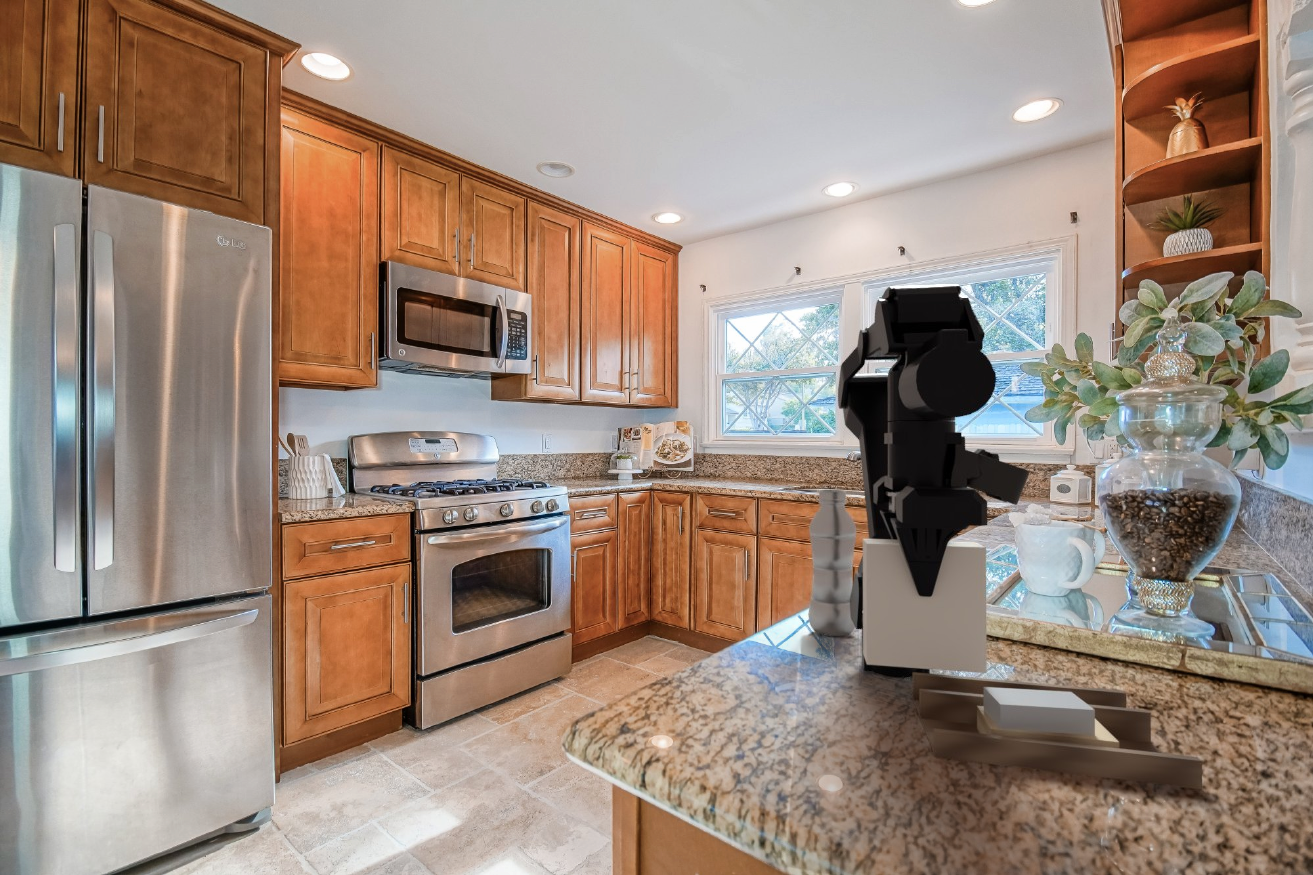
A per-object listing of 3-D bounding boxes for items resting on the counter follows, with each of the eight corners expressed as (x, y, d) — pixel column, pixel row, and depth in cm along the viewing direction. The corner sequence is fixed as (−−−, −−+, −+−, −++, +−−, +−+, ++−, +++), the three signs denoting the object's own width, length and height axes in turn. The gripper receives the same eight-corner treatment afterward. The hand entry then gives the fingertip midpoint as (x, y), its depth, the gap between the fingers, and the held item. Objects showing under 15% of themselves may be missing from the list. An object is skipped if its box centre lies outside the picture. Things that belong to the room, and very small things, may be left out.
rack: (935, 775, 49) (935, 725, 49) (910, 706, 62) (910, 666, 63) (1202, 809, 45) (1202, 754, 45) (1115, 726, 58) (1114, 684, 58)
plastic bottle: (799, 634, 86) (799, 490, 86) (822, 624, 91) (822, 488, 91) (843, 645, 81) (842, 493, 82) (865, 633, 86) (865, 490, 86)
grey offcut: (1000, 728, 50) (1000, 704, 50) (983, 709, 54) (983, 686, 54) (1094, 735, 49) (1094, 709, 49) (1071, 715, 52) (1071, 691, 52)
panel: (866, 664, 56) (866, 543, 56) (863, 653, 59) (862, 538, 59) (986, 673, 54) (986, 547, 54) (976, 661, 57) (976, 542, 57)
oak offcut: (991, 753, 50) (991, 728, 50) (977, 728, 54) (976, 705, 54) (1119, 768, 48) (1119, 742, 48) (1093, 740, 52) (1093, 717, 52)
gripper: (1062, 417, 46) (1063, 627, 46) (985, 424, 64) (985, 574, 64) (903, 418, 48) (903, 618, 48) (872, 425, 67) (872, 569, 66)
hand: (921, 591), depth 57 cm, fingers closed on panel, 3 cm apart
